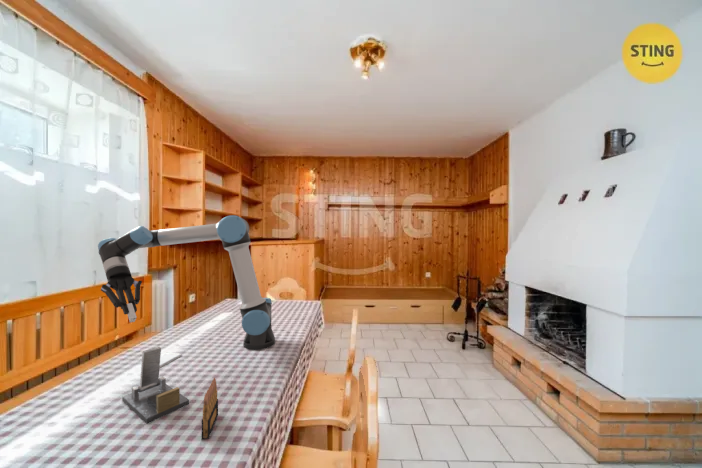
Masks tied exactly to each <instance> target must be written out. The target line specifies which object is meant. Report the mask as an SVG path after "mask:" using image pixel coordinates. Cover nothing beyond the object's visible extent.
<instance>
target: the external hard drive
mask: <svg viewBox="0 0 702 468" xmlns="http://www.w3.org/2000/svg"><path fill="white" fill-rule="evenodd" d="M181 357H182V354H181V353H177V352H165V353H162V354H161V355H160V368H162V367H164V366H166V365H167V364H169V363H172V362H173V361H175V360H177V359H178V358H181Z"/></svg>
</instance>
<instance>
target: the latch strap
mask: <svg viewBox="0 0 702 468" xmlns="http://www.w3.org/2000/svg"><path fill="white" fill-rule="evenodd" d="M161 352H162V347H160V346H156V347H154V348H150V349H146V350H143V351H142V352H141V353H142V354H141V367H140V368H141V369H140V382H139V383H140V384H139V386H137V387H138V388H139V393H140V392H143V391H146V390H148V389H151V388H154V387H156V386H159V385H160V380H159V378H160V368H161V367H160V356H161V355H162V353H161Z"/></svg>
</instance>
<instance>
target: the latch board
mask: <svg viewBox="0 0 702 468" xmlns="http://www.w3.org/2000/svg"><path fill="white" fill-rule="evenodd" d="M166 379H167V378H165V377H164V376H159V380H160V385H159V386H156V387H154V388H151V389H148V390H146V391H143V392H140V393H139V388H138V387H139V386H137V385H135V386H133V387H131V393H128V394H126V395H122V397H121V398H122V403H124V404H125V406H127V407H128V409H131V411H133V413H135V414H136V416H138V417H139V418H140V419H141V420H142V421H143V422H144V423H145V424H146V425H148V424H149V423H152V422H154V421H157V420H159V419H160V418H163V417H165V416H168V415H170V414H171V413H174V412H176V411H179V410H180V409H182V408H184V407H187V406H188V405H190V399H189V398H188V397H186V396H184V395H183V394H181V393H180V387H178V386H176V387H174V388H173V387H171V386H170V385H168V384H167V380H166Z"/></svg>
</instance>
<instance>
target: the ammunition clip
mask: <svg viewBox="0 0 702 468" xmlns="http://www.w3.org/2000/svg"><path fill="white" fill-rule="evenodd" d="M217 388H218V387H217V379H216V378H215V377H213V379H212V380H211V383H210V384H209V387H208V389H206V392H205V394H204V398H203V408H202V419H201V440H209V439H210V437H211V435H212V432H213V429H214V427H215V424H216V421H217V419H218V417H219V398H218V389H217Z"/></svg>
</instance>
